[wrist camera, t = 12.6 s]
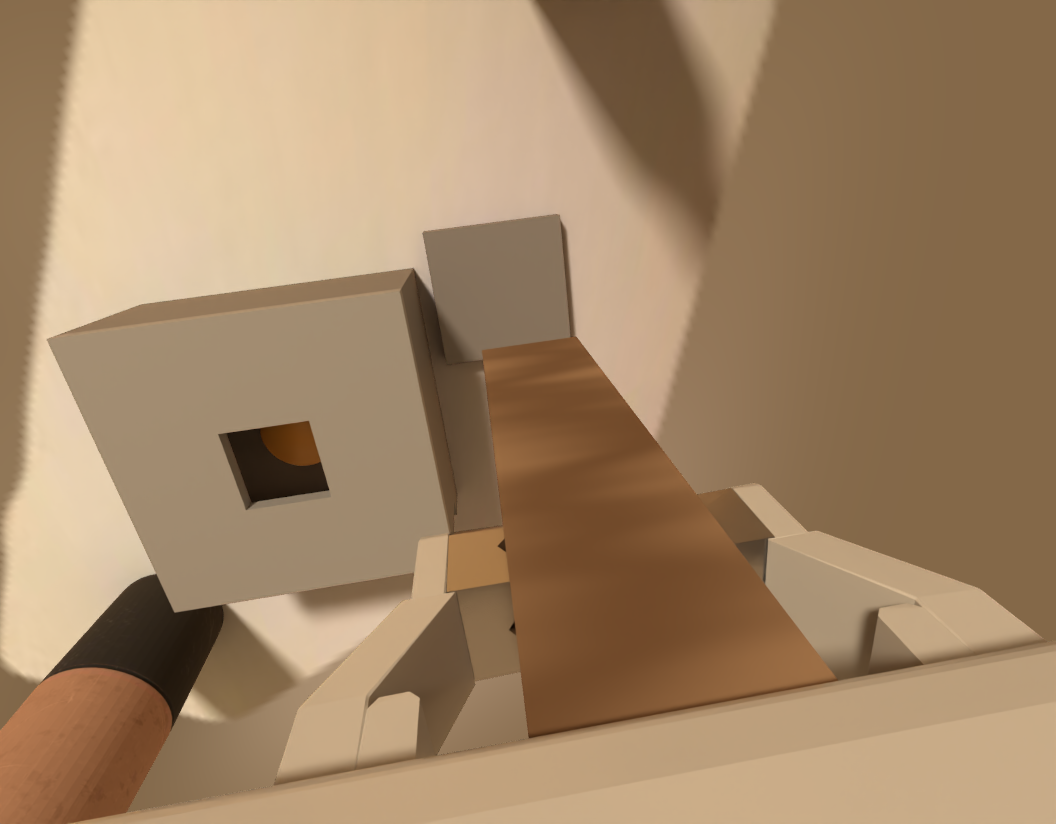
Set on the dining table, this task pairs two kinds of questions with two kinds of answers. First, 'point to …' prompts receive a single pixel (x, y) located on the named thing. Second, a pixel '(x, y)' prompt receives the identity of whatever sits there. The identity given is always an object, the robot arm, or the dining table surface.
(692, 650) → the brown wooden bar
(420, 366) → the box
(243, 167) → the dining table surface
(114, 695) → the travel mug
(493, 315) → the pad
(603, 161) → the dining table surface
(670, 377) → the dining table surface
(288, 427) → the button
